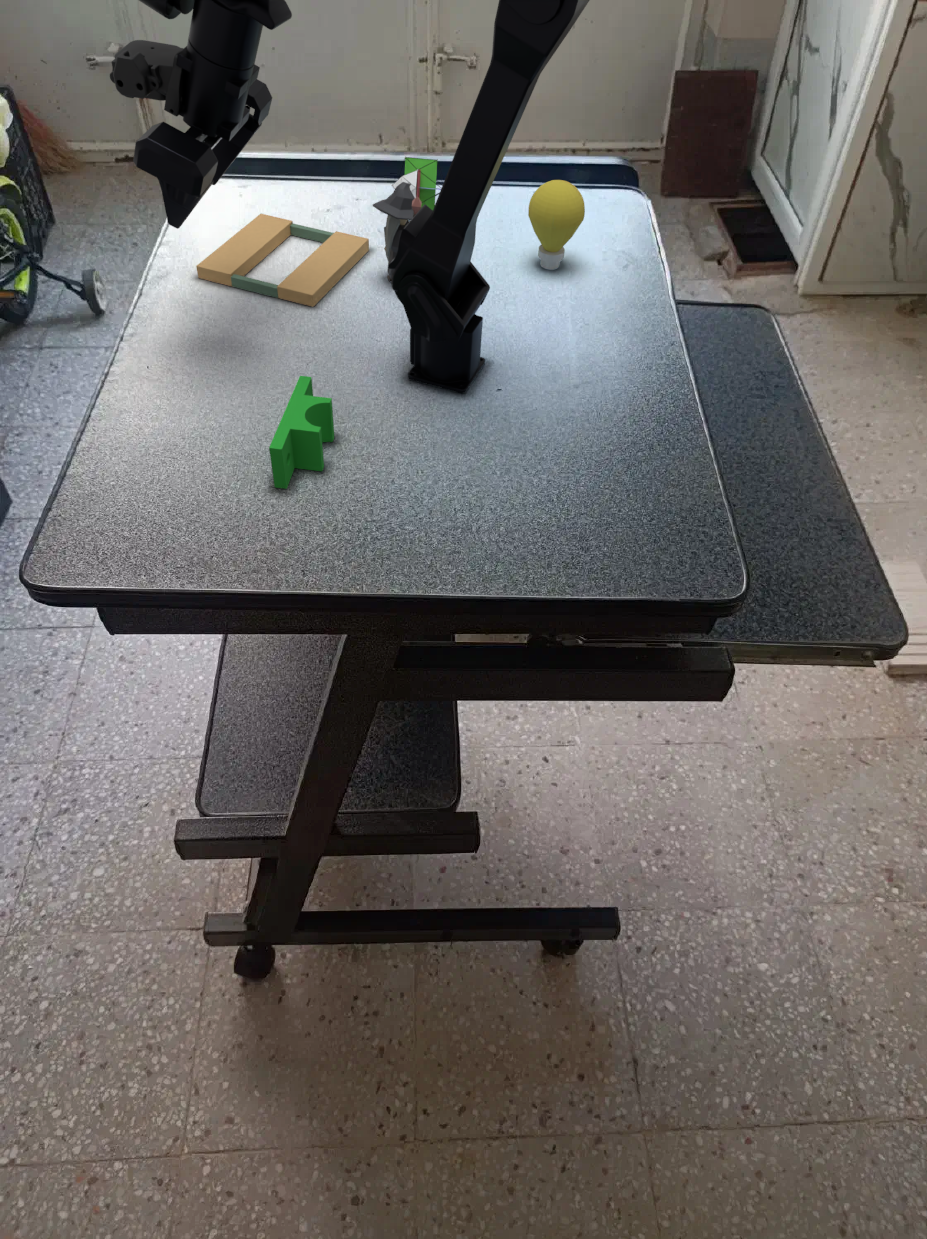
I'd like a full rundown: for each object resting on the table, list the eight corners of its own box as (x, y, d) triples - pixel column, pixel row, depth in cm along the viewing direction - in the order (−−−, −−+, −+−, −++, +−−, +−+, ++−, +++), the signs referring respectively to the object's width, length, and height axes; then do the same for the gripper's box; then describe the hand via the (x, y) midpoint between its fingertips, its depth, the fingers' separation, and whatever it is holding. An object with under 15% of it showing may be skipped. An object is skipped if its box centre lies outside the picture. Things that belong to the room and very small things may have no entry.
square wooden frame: (369, 250, 111) (368, 238, 110) (313, 307, 102) (312, 295, 101) (262, 225, 114) (260, 213, 113) (198, 278, 105) (196, 266, 104)
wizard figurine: (366, 278, 107) (362, 174, 98) (401, 263, 109) (400, 160, 100) (413, 305, 103) (414, 200, 94) (448, 289, 106) (452, 186, 97)
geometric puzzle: (399, 176, 121) (393, 140, 113) (450, 180, 121) (447, 144, 113) (393, 227, 120) (387, 194, 112) (444, 231, 120) (441, 199, 112)
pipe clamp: (315, 493, 81) (311, 453, 78) (274, 488, 81) (268, 448, 78) (341, 418, 88) (338, 378, 85) (303, 414, 89) (299, 374, 85)
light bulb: (538, 246, 114) (547, 165, 106) (585, 262, 112) (598, 179, 104) (513, 267, 110) (520, 184, 103) (561, 284, 108) (573, 200, 100)
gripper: (177, -35, 82) (155, 123, 94) (81, 38, 71) (69, 208, 83) (290, 30, 85) (254, 176, 97) (214, 111, 73) (184, 266, 85)
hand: (192, 203), depth 90 cm, fingers open, 9 cm apart
